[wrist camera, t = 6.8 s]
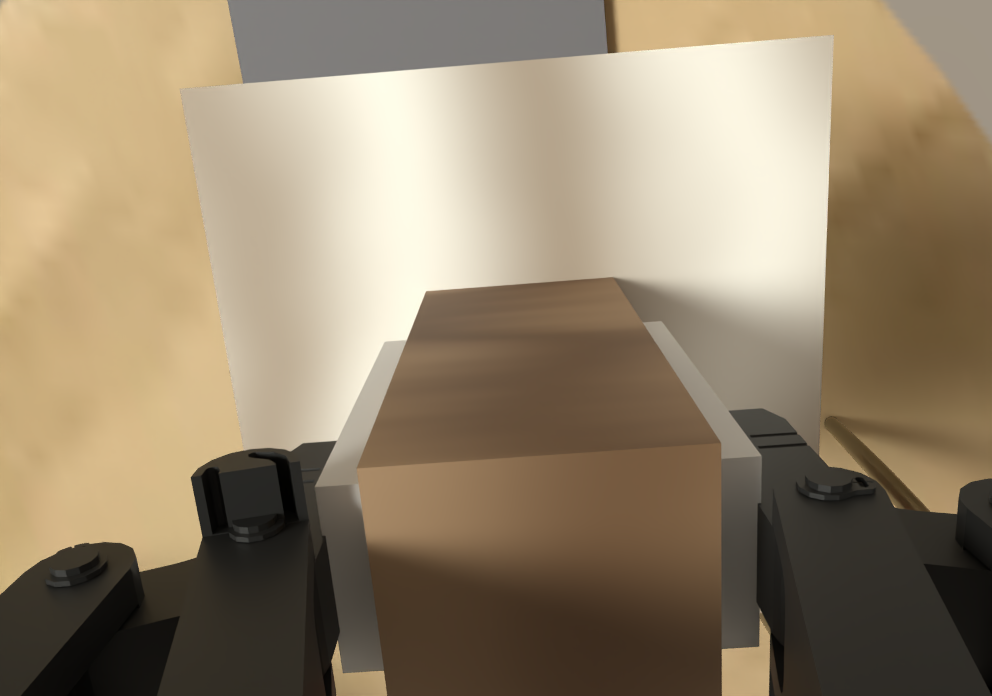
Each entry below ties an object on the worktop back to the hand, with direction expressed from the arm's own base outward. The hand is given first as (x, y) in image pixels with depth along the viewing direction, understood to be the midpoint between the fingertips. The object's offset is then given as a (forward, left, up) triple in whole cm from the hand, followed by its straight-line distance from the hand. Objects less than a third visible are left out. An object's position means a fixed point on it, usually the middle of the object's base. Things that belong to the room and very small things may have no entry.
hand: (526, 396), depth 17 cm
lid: (0, 0, -4) cm, 4 cm away
